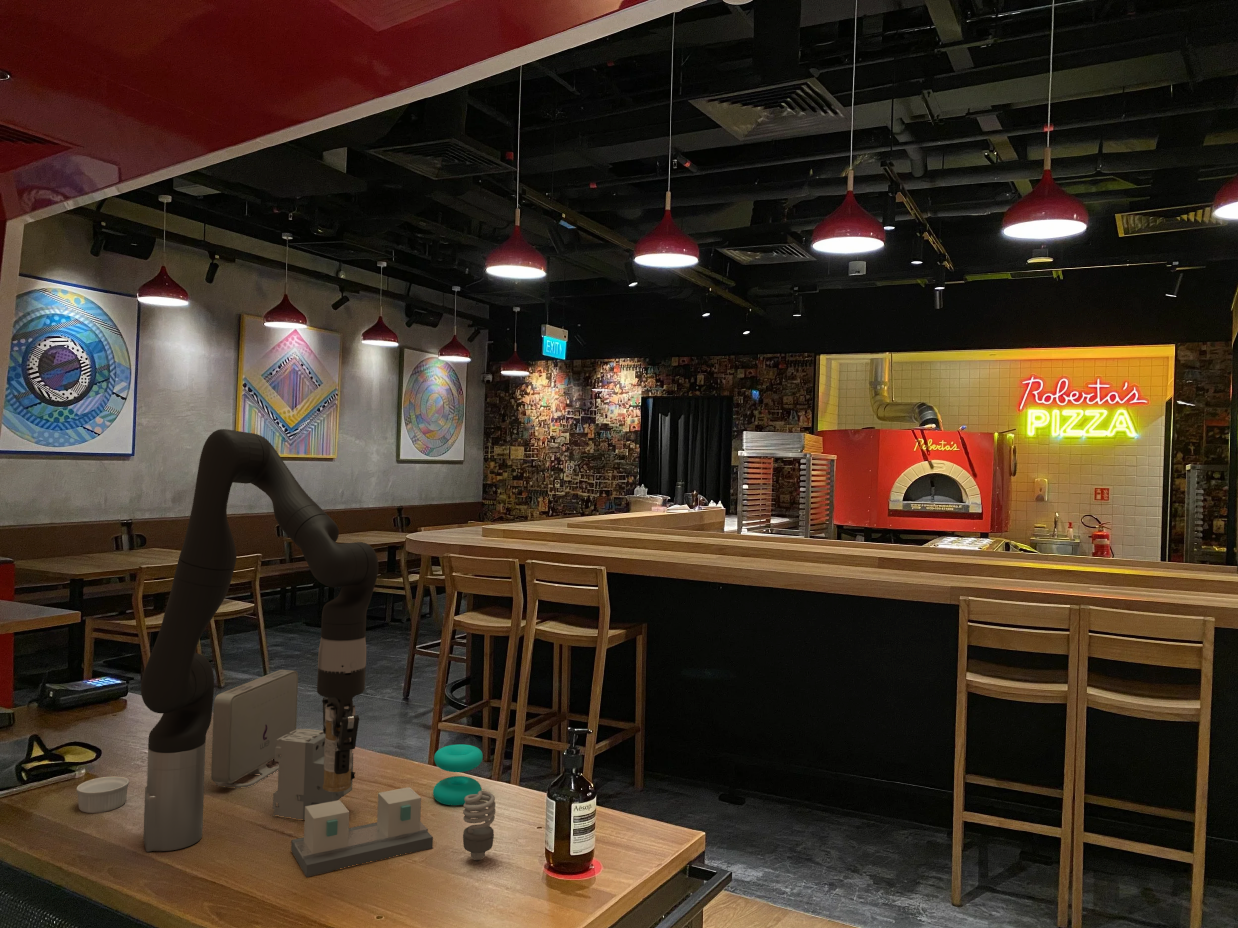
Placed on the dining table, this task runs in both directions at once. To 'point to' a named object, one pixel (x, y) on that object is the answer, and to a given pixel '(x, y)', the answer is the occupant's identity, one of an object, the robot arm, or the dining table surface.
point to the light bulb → (479, 835)
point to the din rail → (357, 840)
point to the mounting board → (361, 852)
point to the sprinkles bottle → (332, 779)
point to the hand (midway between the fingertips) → (337, 767)
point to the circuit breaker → (302, 773)
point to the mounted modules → (332, 819)
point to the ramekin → (102, 794)
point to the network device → (252, 726)
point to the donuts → (457, 761)
